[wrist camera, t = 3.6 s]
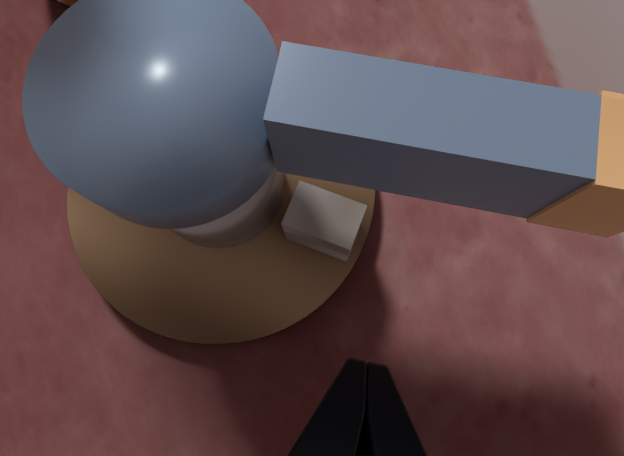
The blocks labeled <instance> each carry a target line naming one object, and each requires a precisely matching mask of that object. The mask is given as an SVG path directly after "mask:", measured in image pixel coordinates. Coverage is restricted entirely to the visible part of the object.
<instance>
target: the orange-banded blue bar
mask: <svg viewBox="0 0 624 456" xmlns="http://www.w3.org/2000/svg"><path fill="white" fill-rule="evenodd" d="M22 108H23V116H24V123H25V127H26V130H27V134H28V137H29V139H30V142H31V144H32V146H33V148H34V150H35V152H36V154H37V155H38V157H39V158H40V160H41V161H42V163H43V164H44V165H45V167H46V168H47V169H48V170H49V171H50V172H51V173H52V174H53V175H54V176H55V177H56V178H57V179H58V180H60V181H61V182H62V183H63V184H64V185H66V186H67V187H69V188H70V189H72V190H74V191H75V192H77V193H79V194H80V195H82V196H84V197H85V198H87V199H89V200H91V201H92V202H94V203H96V204H98V205H99V206H101V207H103V208H104V209H106V210H108V211H110V212H111V213H113V214H115V215H117V216H118V217H120V218H122V219H125V220H127V221H129V222H132V223H135V224H138V225H142V226H146V227H151V228H159V229H181V228H189V227H194V226H198V225H202V224H206V223H209V222H211V221H214V220H217V219H219V218H222V217H223V216H225V215H227V214H229V213H231V212H232V211H234V210H236V209H237V208H239V207H240V206H241V205H243V204H244V203H246V202H247V201H248V200H249V199H250V198H251V197H252V196H253V195H254V194H256V193H257V192H258V191H259V189H260V188H261V187H262V186H263V185H264V183H265V182H266V181H267V180H268V178H269V176H270V175H271V173H272V172H273V170H274V169H275V167H276V169H277V172H282V173H287V174H293V175H298V176H303V177H309V178H314V179H319V180H325V181H330V182H335V183H341V184H346V185H351V186H357V187H362V188H367V189H373V190H378V191H383V192H389V193H394V194H399V195H405V196H410V197H415V198H421V199H426V200H431V201H437V202H442V203H448V204H453V205H458V206H464V207H469V208H474V209H480V210H485V211H490V212H496V213H501V214H506V215H512V216H517V217H522V218H527V222H529V223H534V224H539V225H545V226H550V227H555V228H561V229H566V230H571V231H577V232H582V233H587V234H593V235H598V236H603V237H609V236H612V235H615V234H618V233H621V232H624V94H621V93H614V92H609V91H601V92H600V93H598V94H593V93H588V92H582V91H576V90H569V89H564V88H558V87H552V86H546V85H540V84H534V83H528V82H522V81H516V80H510V79H504V78H498V77H492V76H486V75H480V74H474V73H468V72H463V71H457V70H451V69H445V68H439V67H433V66H427V65H421V64H415V63H409V62H403V61H397V60H391V59H385V58H379V57H373V56H367V55H361V54H355V53H349V52H343V51H337V50H331V49H326V48H320V47H314V46H308V45H302V44H296V43H290V42H284V41H282V45H281V49H280V53H279V57H278V54H277V51H276V47H275V44H274V42H273V40H272V37H271V35H270V33H269V31H268V29H267V28H266V26H265V25H264V23H263V22H262V20H261V19H260V18H259V16H258V15H257V14H256V13H255V12H254V10H253V9H252V8H251V7H250V6H248V5H247V4H246V3H245V2H244V1H243V0H78V1H77V2H76V3H75V4H73V5H72V6H71V7H70V8H68V9H67V10H66V11H65V12H64V13H63V14H62V15H61V16H60V17H59V18H58V19H57V20H56V21H55V22H54V23H53V24H52V25H51V27H50V28H49V29H48V30H47V32H46V33H45V34H44V36H43V37H42V39H41V41H40V42H39V44H38V46H37V47H36V49H35V51H34V54H33V56H32V58H31V60H30V63H29V66H28V69H27V72H26V76H25V81H24V87H23V99H22Z"/></svg>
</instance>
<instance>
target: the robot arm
mask: <svg viewBox="0 0 624 456" xmlns="http://www.w3.org/2000/svg"><path fill="white" fill-rule="evenodd" d="M288 456H427V454H426V451H425V449H424V447H423V445H422V442H421V440H420V438H419V436H418V433H417V431H416V429H415V427H414V424H413V422H412V420H411V418H410V415H409V413H408V411H407V409H406V406H405V404H404V402H403V400H402V398H401V395H400V393H399V391H398V389H397V386H396V384H395V382H394V380H393V377H392V375H391V373H390V371H389V369H388V367H387V366H386V365H384V364H380V363H375V362H368V363H367V362H366V361H365V360H361V359H356V358H348V359H347V360H346V362H345V364H344V365H343V367H342V368H341V370H340V372H339V373H338V375H337V377H336V378H335V380H334V381H333V383H332V385H331V386H330V388H329V389H328V391H327V393H326V394H325V396H324V398H323V399H322V401H321V402H320V404H319V406H318V407H317V409H316V411H315V412H314V414H313V415H312V417H311V419H310V420H309V422H308V424H307V425H306V427H305V428H304V430H303V432H302V433H301V435H300V436H299V438H298V440H297V441H296V443H295V445H294V446H293V448H292V449H291V451H290V453H289V454H288Z"/></svg>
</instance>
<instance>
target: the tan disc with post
mask: <svg viewBox="0 0 624 456" xmlns="http://www.w3.org/2000/svg"><path fill="white" fill-rule="evenodd" d="M374 201H375V190H373V189H367V188H362V187H357V186H351V185H346V184H341V183H335V182H330V181H325V180H319V179H314V178H309V177H303V176H298V175H293V174H287V173H282V172H277V169H276V167H275V169H274V170H273V172H272V173H271V175H270V176H269V178H268V180H267V181H266V182H265V183H264V185H263V186H262V187H261V188H260V189H259V191H258V192H257V193H256V194H254V195H253V196H252V197H251V198H250V199H249V200H248V201H247V202H246V203H244V204H243V205H241V206H240V207H239V208H237V209H236V210H234V211H232V212H231V213H229V214H227V215H225V216H223V217H222V218H219V219H217V220H214V221H211V222H209V223H206V224H202V225H198V226H194V227H189V228H181V229H159V228H151V227H146V226H142V225H138V224H135V223H132V222H129V221H127V220H125V219H122V218H120V217H118V216H117V215H115V214H113V213H111V212H110V211H108V210H106V209H104V208H103V207H101V206H99V205H98V204H96V203H94V202H92V201H91V200H89V199H87V198H85V197H84V196H82V195H80V194H79V193H77V192H75V191H74V190H72V189H70V188H69V187H68V192H67V216H68V223H69V230H70V235H71V239H72V242H73V245H74V249H75V252H76V254H77V257H78V259H79V261H80V263H81V265H82V268H83V270H84V271H85V273H86V275H87V276H88V278H89V279H90V281H91V282H92V284H93V285H94V287H95V288H96V289H97V290H98V292H99V293H100V294H101V295H102V296H103V297H104V298H105V300H106V301H107V302H108V303H109V304H111V305H112V306H113V307H114V308H115V309H116V310H118V311H119V312H120V313H121V314H122V315H124V316H125V317H127V318H128V319H130V320H131V321H133V322H135V323H136V324H138V325H139V326H141V327H143V328H146V329H148V330H150V331H152V332H154V333H157V334H159V335H162V336H165V337H169V338H172V339H176V340H179V341H186V342H193V343H199V344H227V343H235V342H243V341H250V340H254V339H257V338H261V337H265V336H268V335H271V334H273V333H276V332H278V331H281V330H283V329H285V328H288V327H290V326H291V325H293V324H295V323H297V322H298V321H300V320H302V319H303V318H305V317H307V316H308V315H309V314H311V313H312V312H313V311H314V310H316V309H317V308H318V307H320V306H321V305H322V304H323V303H324V302H325V301H326V300H327V299H328V298H329V297H330V296H331V295H332V294H333V293H334V292H335V291H336V290H337V289H338V288H339V286H340V285H341V284H342V282H343V281H344V280H345V278H346V277H347V276H348V274H349V273H350V271H351V269H352V267H353V266H354V264H355V262H356V260H357V259H358V257H359V255H360V253H361V250H362V248H363V245H364V243H365V240H366V238H367V235H368V232H369V228H370V224H371V220H372V216H373V210H374Z"/></svg>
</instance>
